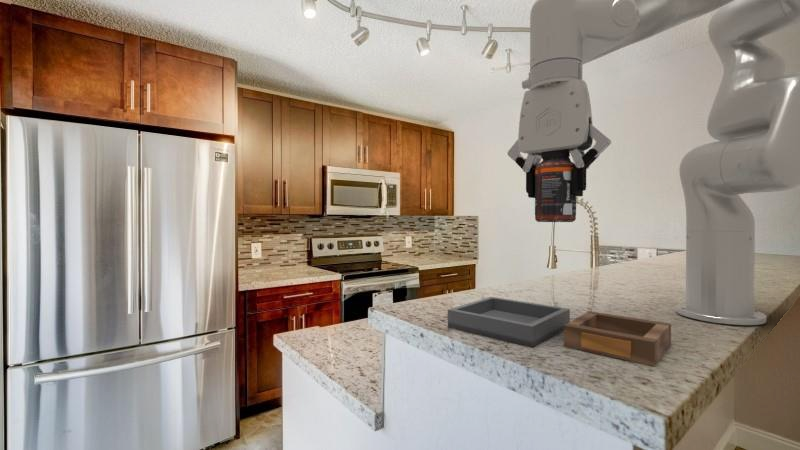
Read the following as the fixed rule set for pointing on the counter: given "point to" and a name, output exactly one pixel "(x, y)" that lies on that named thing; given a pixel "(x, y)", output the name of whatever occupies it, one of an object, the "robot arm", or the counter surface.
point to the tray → (509, 320)
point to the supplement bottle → (554, 188)
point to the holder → (619, 337)
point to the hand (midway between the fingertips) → (554, 195)
